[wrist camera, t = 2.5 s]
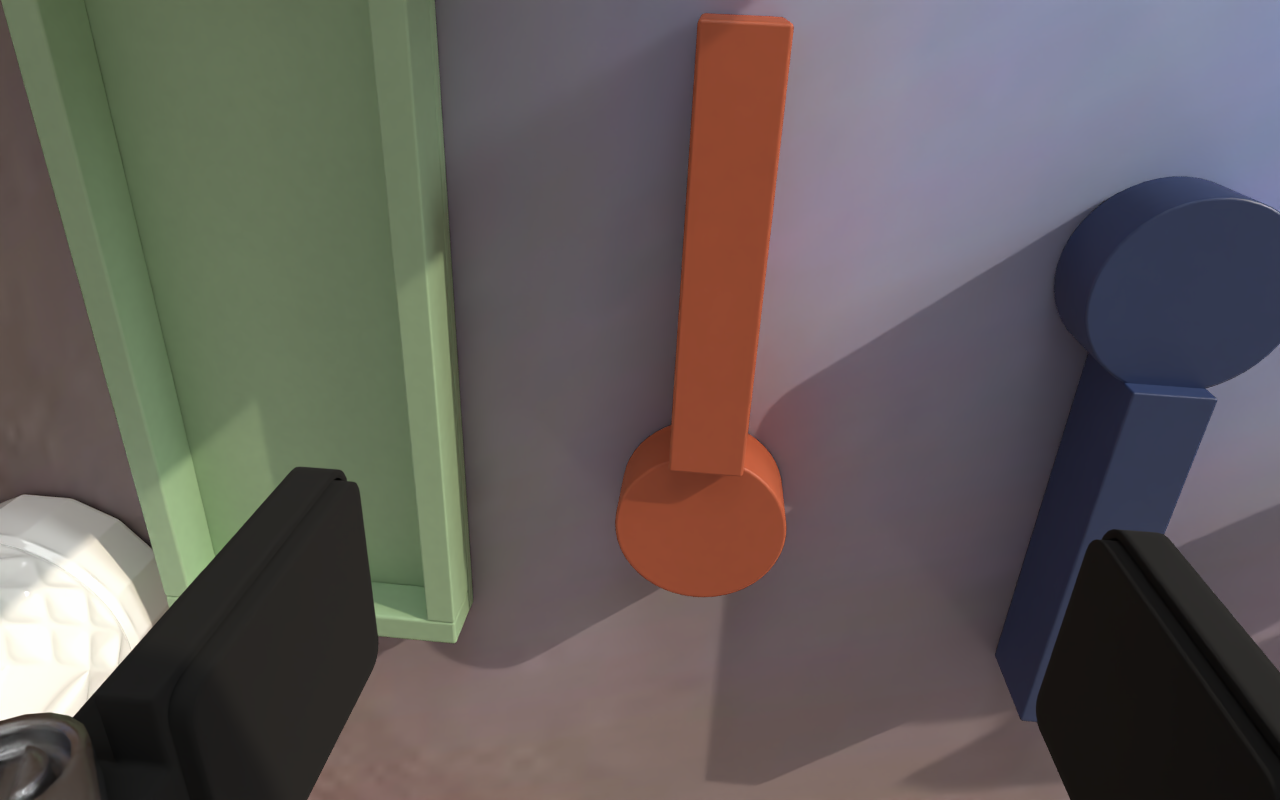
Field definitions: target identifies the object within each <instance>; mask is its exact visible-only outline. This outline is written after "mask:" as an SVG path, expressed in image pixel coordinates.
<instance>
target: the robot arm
mask: <svg viewBox="0 0 1280 800" xmlns="http://www.w3.org/2000/svg"><path fill="white" fill-rule="evenodd" d="M377 653H378V632H377V624H376V616H375V608H374V600H373V592H372V584H371V576H370V568H369V561H368V553H367V545H366V537H365V529H364V521H363V513H362V505H361V497H360V491H359V487H358V485H357V483H355V482H352V481H347V478H346V476H345V474H344V472H343V471H341V470H339V469H326V468H313V467H295V468H294V469H293V470H291V471H290V473H289V474H288V475H287V476H286V477H285V478H284V479H283V480H282V482H281V483H280V484H279V485H278V486H277V487H276V488H275V490H274V491H273V492H272V493H271V494H270V495H269V496H268V497H267V499H266V500H265V501H264V502H263V503H262V504H261V505H260V507H259V508H258V509H257V510H256V511H255V512H254V513H253V514H252V516H251V517H250V518H249V519H248V520H247V521H246V522H245V524H244V525H243V526H242V527H241V528H240V529H239V530H238V531H237V533H236V534H235V535H234V536H233V537H232V538H231V539H230V540H229V542H228V543H227V544H226V545H225V546H224V547H223V548H222V550H221V551H220V552H219V553H218V554H217V555H216V556H215V557H214V559H213V560H212V561H211V562H210V563H209V564H208V565H207V567H206V568H205V569H204V570H203V571H202V572H201V573H200V574H199V575H198V576H197V577H196V578H195V580H194V581H193V582H192V583H191V584H190V585H189V586H188V587H187V589H186V590H185V591H184V592H183V593H182V594H181V595H180V596H179V598H178V599H177V600H176V601H175V602H174V603H173V604H172V606H171V607H170V608H169V609H168V610H167V611H166V612H165V613H164V615H163V616H162V617H161V618H160V619H159V620H158V621H157V623H156V624H155V625H154V626H153V627H152V628H151V629H150V630H149V632H148V633H147V634H146V635H145V636H144V637H143V638H142V639H141V641H140V642H139V643H138V644H137V645H136V646H135V647H134V649H133V650H132V651H131V652H130V653H129V654H128V655H127V656H126V658H125V659H124V660H123V661H122V662H121V663H120V664H119V665H118V667H117V668H116V669H115V670H114V671H113V672H112V673H111V675H110V676H109V677H108V678H107V679H106V680H105V681H104V682H103V684H102V685H101V686H100V687H99V688H98V689H97V690H96V692H95V693H94V694H93V695H92V696H91V697H90V698H89V699H88V701H87V702H86V703H85V704H84V705H83V706H82V707H81V708H80V710H79V711H78V712H77V713H76V714H75V715H74V716H73V717H71V716H68V715H62V714H57V713H51V712H47V713H34V714H24V715H20V716H17V717H13V718H9V719H5V720H2V721H0V800H307V799H308V797H309V795H310V793H311V791H312V789H313V787H314V785H315V783H316V781H317V779H318V777H319V775H320V773H321V771H322V769H323V767H324V765H325V763H326V761H327V759H328V757H329V755H330V753H331V751H332V749H333V747H334V745H335V743H336V741H337V739H338V737H339V735H340V733H341V731H342V729H343V727H344V725H345V723H346V722H347V720H348V718H349V716H350V714H351V712H352V710H353V708H354V706H355V704H356V702H357V700H358V698H359V696H360V694H361V692H362V690H363V688H364V686H365V684H366V682H367V680H368V678H369V676H370V674H371V672H372V670H373V667H374V665H375V662H376V658H377ZM1036 717H1037V723H1038V726H1039V729H1040V732H1041V734H1042V736H1043V738H1044V741H1045V743H1046V745H1047V747H1048V750H1049V752H1050V754H1051V756H1052V759H1053V761H1054V763H1055V766H1056V768H1057V770H1058V772H1059V775H1060V777H1061V779H1062V781H1063V784H1064V786H1065V788H1066V791H1067V793H1068V795H1069V797H1070V800H1280V672H1279V671H1278V670H1277V668H1276V667H1275V666H1274V665H1273V664H1272V662H1271V661H1270V660H1269V659H1268V658H1267V656H1266V655H1265V654H1264V653H1263V652H1262V650H1261V649H1260V648H1259V647H1258V646H1257V644H1256V643H1255V642H1254V641H1253V640H1252V638H1251V637H1250V636H1249V635H1248V634H1247V632H1246V631H1245V630H1244V629H1243V628H1242V626H1241V625H1240V624H1239V623H1238V621H1237V620H1236V619H1235V618H1234V617H1233V615H1232V614H1231V613H1230V612H1229V611H1228V609H1227V608H1226V607H1225V606H1224V605H1223V603H1222V602H1221V601H1220V600H1219V599H1218V597H1217V596H1216V595H1215V594H1214V593H1213V591H1212V590H1211V589H1210V588H1209V587H1208V585H1207V584H1206V583H1205V582H1204V581H1203V579H1202V578H1201V577H1200V576H1199V574H1198V573H1197V572H1196V571H1195V570H1194V568H1193V567H1192V566H1191V565H1190V564H1189V562H1188V561H1187V560H1186V559H1185V558H1184V556H1183V555H1182V554H1181V553H1180V552H1179V550H1178V549H1177V548H1176V547H1175V546H1174V544H1173V543H1172V542H1171V541H1170V540H1169V538H1167V537H1166V536H1165V535H1164V534H1161V533H1157V532H1145V531H1132V530H1119V529H1112V530H1109V531H1107V533H1106V534H1105V535H1104V536H1103V538H1102V540H1098V539H1096V540H1093V541H1092V542H1091V543H1090V544H1089V545H1088V547H1087V550H1086V552H1085V555H1084V558H1083V561H1082V564H1081V567H1080V570H1079V573H1078V576H1077V579H1076V582H1075V585H1074V588H1073V591H1072V594H1071V597H1070V600H1069V603H1068V606H1067V609H1066V612H1065V615H1064V618H1063V621H1062V624H1061V627H1060V630H1059V633H1058V636H1057V639H1056V642H1055V645H1054V648H1053V651H1052V654H1051V657H1050V660H1049V663H1048V666H1047V669H1046V672H1045V675H1044V678H1043V681H1042V684H1041V687H1040V690H1039V693H1038V696H1037V701H1036Z"/></svg>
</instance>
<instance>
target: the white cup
mask: <svg viewBox="0 0 1280 800" xmlns="http://www.w3.org/2000/svg"><path fill="white" fill-rule="evenodd" d="M168 609H169V605H168V602H167V595H165V592H164V589H163V585H162V581H161V578H160V574H159V571H158V567H157V563H156V560H155V556H154V552H153V549H152V548H151V547H149V546H148V545H147V544H146V543H145V542H144V541H143V540H142V539H141V538H140V537H138V536H137V535H136V534H135V533H134V532H133V531H132V530H130V529H129V528H128V527H127V526H126V525H125V524H124V523H122V522H121V521H120V520H118V519H116V518H114V517H112V516H110V515H108V514H105V513H103V512H101V511H99V510H97V509H94V508H92V507H90V506H88V505H85V504H83V503H81V502H79V501H77V500H74V499H71V498H62V497H50V496H39V495H27V494H24V495H20V496H18V497H15V498H13V499H10V500H7V501H5V502H2V503H0V721H2V720H5V719H9V718H13V717H17V716H20V715H24V714H34V713H47V712H51V713H57V714H62V715H68V716H71V717H73V716H74V715H75V714H76V713H77V712H78V711H79V710H80V708H81V707H82V706H83V705H84V704H85V703H86V702H87V701H88V699H89V698H90V697H91V696H92V695H93V694H94V693H95V692H96V690H97V689H98V688H99V687H100V686H101V685H102V684H103V682H104V681H105V680H106V679H107V678H108V677H109V676H110V675H111V673H112V672H113V671H114V670H115V669H116V668H117V667H118V665H119V664H120V663H121V662H122V661H123V660H124V659H125V658H126V656H127V655H128V654H129V653H130V652H131V651H132V650H133V649H134V647H135V646H136V645H137V644H138V643H139V642H140V641H141V639H142V638H143V637H144V636H145V635H146V634H147V633H148V632H149V630H150V629H151V628H152V627H153V626H154V625H155V624H156V623H157V621H158V620H159V619H160V618H161V617H162V616H163V615H164V613H165V612H166V611H167V610H168Z"/></svg>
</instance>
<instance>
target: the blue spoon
mask: <svg viewBox="0 0 1280 800" xmlns="http://www.w3.org/2000/svg"><path fill="white" fill-rule="evenodd" d="M1054 293H1055V302H1056V306H1057V310H1058V313H1059V315H1060V318H1061V320H1062V322H1063V323H1064V325H1065V327H1066V328H1067V330H1068V331H1069V332H1070V333H1071V334H1072V335H1073V336H1074V338H1075V339H1076V340H1077V341H1078V342H1079V343H1080V344H1081V345H1082V346H1083V347H1084V348H1085V349H1086V350H1087V351H1088V352H1089V353H1088V356H1087V359H1086V362H1085V366H1084V369H1083V372H1082V375H1081V379H1080V382H1079V385H1078V388H1077V391H1076V395H1075V398H1074V401H1073V404H1072V408H1071V411H1070V414H1069V417H1068V421H1067V424H1066V427H1065V430H1064V434H1063V437H1062V440H1061V443H1060V446H1059V450H1058V453H1057V456H1056V459H1055V463H1054V466H1053V469H1052V472H1051V476H1050V479H1049V482H1048V485H1047V488H1046V492H1045V495H1044V498H1043V501H1042V505H1041V508H1040V511H1039V514H1038V518H1037V521H1036V524H1035V527H1034V530H1033V534H1032V537H1031V540H1030V543H1029V547H1028V550H1027V553H1026V556H1025V560H1024V563H1023V566H1022V569H1021V573H1020V576H1019V579H1018V582H1017V585H1016V589H1015V592H1014V595H1013V598H1012V602H1011V605H1010V608H1009V611H1008V615H1007V618H1006V621H1005V624H1004V627H1003V631H1002V634H1001V637H1000V640H999V644H998V647H997V650H996V653H995V656H996V659H997V661H998V664H999V666H1000V669H1001V672H1002V674H1003V677H1004V679H1005V682H1006V684H1007V687H1008V689H1009V692H1010V694H1011V697H1012V699H1013V702H1014V704H1015V707H1016V709H1017V712H1018V714H1019V717H1020V719H1021V720H1022V721H1032V722H1037V717H1036V701H1037V696H1038V693H1039V690H1040V687H1041V684H1042V681H1043V678H1044V675H1045V672H1046V669H1047V666H1048V663H1049V660H1050V657H1051V654H1052V651H1053V648H1054V645H1055V642H1056V639H1057V636H1058V633H1059V630H1060V627H1061V624H1062V621H1063V618H1064V615H1065V612H1066V609H1067V606H1068V603H1069V600H1070V597H1071V594H1072V591H1073V588H1074V585H1075V582H1076V579H1077V576H1078V573H1079V570H1080V567H1081V564H1082V561H1083V558H1084V555H1085V552H1086V550H1087V547H1088V545H1089V544H1090V543H1091V542H1092V541H1093V540H1096V539H1098V540H1102V538H1103V536H1104V535H1105V534H1106V533H1107V531H1109V530H1112V529H1119V530H1132V531H1145V532H1157V533H1161V534H1164V533H1165V531H1166V528H1167V526H1168V523H1169V521H1170V518H1171V516H1172V513H1173V511H1174V508H1175V506H1176V503H1177V501H1178V498H1179V496H1180V493H1181V490H1182V488H1183V485H1184V483H1185V480H1186V478H1187V475H1188V473H1189V470H1190V468H1191V465H1192V463H1193V460H1194V458H1195V455H1196V453H1197V450H1198V448H1199V445H1200V443H1201V440H1202V438H1203V435H1204V433H1205V430H1206V427H1207V425H1208V422H1209V420H1210V417H1211V415H1212V412H1213V410H1214V407H1215V405H1216V402H1217V398H1216V397H1214V396H1213V395H1212V394H1211V393H1210V392H1209V391H1207V390H1206V389H1205V388H1208V387H1212V386H1215V385H1218V384H1220V383H1223V382H1225V381H1228V380H1230V379H1232V378H1234V377H1236V376H1238V375H1240V374H1242V373H1244V372H1245V371H1247V370H1248V369H1250V368H1251V367H1253V366H1254V365H1256V364H1257V363H1259V362H1260V361H1261V360H1262V359H1264V358H1265V357H1266V356H1267V355H1269V354H1270V353H1271V352H1272V351H1273V350H1274V349H1275V348H1276V347H1277V346H1278V345H1279V344H1280V212H1278V211H1277V210H1275V209H1274V208H1272V207H1270V206H1268V205H1265V204H1263V203H1261V202H1259V201H1256V200H1254V199H1252V198H1249V197H1247V196H1244V195H1242V194H1240V193H1237V192H1235V191H1233V190H1230V189H1228V188H1226V187H1223V186H1221V185H1219V184H1216V183H1214V182H1211V181H1208V180H1204V179H1200V178H1193V177H1167V178H1159V179H1155V180H1151V181H1147V182H1143V183H1140V184H1138V185H1135V186H1132V187H1130V188H1128V189H1126V190H1124V191H1122V192H1120V193H1118V194H1116V195H1114V196H1113V197H1111V198H1110V199H1108V200H1106V201H1105V202H1104V203H1102V204H1101V205H1100V206H1099V207H1097V208H1096V209H1095V210H1093V211H1092V212H1091V213H1090V214H1089V215H1088V216H1087V217H1086V218H1085V219H1084V220H1083V221H1082V223H1081V224H1080V225H1079V226H1078V227H1077V229H1076V230H1075V231H1074V233H1073V234H1072V236H1071V237H1070V239H1069V240H1068V242H1067V244H1066V246H1065V248H1064V250H1063V252H1062V254H1061V257H1060V260H1059V263H1058V265H1057V270H1056V275H1055V284H1054Z"/></svg>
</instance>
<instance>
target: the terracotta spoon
mask: <svg viewBox="0 0 1280 800" xmlns="http://www.w3.org/2000/svg"><path fill="white" fill-rule="evenodd" d="M793 29H794V27H793V24H792V23H790V22H789V21H788V20H786V19H785V18H783V17H771V16H750V15H730V14H709V13H704V14H702V15H701V17H700V19H699V21H698V25H697V40H696V56H695V71H694V86H693V101H692V117H691V132H690V147H689V163H688V178H687V193H686V208H685V224H684V239H683V254H682V270H681V285H680V300H679V316H678V331H677V346H676V361H675V377H674V392H673V407H672V423H671V425H670V426H667V427H665V428H663V429H661V430H659V431H657V432H655V433H654V434H652V435H651V436H649V437H648V438H647V439H646V440H645V441H643V442H642V443H641V444H640V445H639V447H638V448H637V449H636V450H635V451H634V453H633V454H632V456H631V457H630V459H629V462H628V464H627V466H626V469H625V473H624V477H623V482H622V487H621V492H620V497H619V502H618V507H617V512H616V520H615V527H616V535H617V540H618V543H619V545H620V548H621V550H622V552H623V554H624V556H625V557H626V559H627V560H628V562H629V563H630V564H631V566H632V567H633V568H634V569H635V570H636V571H637V572H638V573H639V574H640V575H641V576H643V577H644V578H645V579H647V580H648V581H650V582H651V583H653V584H654V585H656V586H658V587H660V588H662V589H665V590H667V591H670V592H673V593H677V594H681V595H686V596H693V597H715V596H721V595H726V594H730V593H733V592H736V591H739V590H741V589H744V588H746V587H748V586H750V585H751V584H753V583H755V582H756V581H757V580H759V579H760V578H762V577H763V576H764V575H765V574H766V573H767V572H768V571H769V570H770V569H771V567H772V566H773V565H774V564H775V562H776V561H777V559H778V557H779V556H780V554H781V551H782V549H783V546H784V542H785V538H786V518H785V509H784V500H783V491H782V482H781V477H780V473H779V469H778V467H777V465H776V462H775V461H774V459H773V457H772V456H771V454H770V453H769V452H768V450H767V449H766V448H765V447H764V446H763V445H762V444H761V443H760V442H759V441H758V440H757V439H755V438H754V437H752V436H751V435H750V434H748V426H749V418H750V409H751V400H752V391H753V382H754V373H755V365H756V356H757V347H758V338H759V329H760V320H761V312H762V303H763V294H764V285H765V276H766V267H767V258H768V250H769V241H770V232H771V223H772V214H773V205H774V197H775V188H776V179H777V170H778V161H779V152H780V144H781V135H782V126H783V117H784V108H785V99H786V91H787V82H788V73H789V64H790V55H791V46H792V38H793Z"/></svg>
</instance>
